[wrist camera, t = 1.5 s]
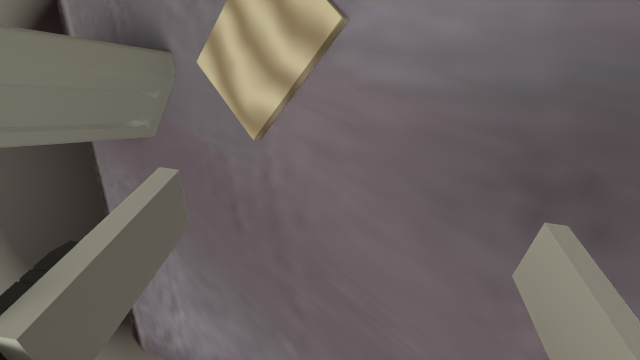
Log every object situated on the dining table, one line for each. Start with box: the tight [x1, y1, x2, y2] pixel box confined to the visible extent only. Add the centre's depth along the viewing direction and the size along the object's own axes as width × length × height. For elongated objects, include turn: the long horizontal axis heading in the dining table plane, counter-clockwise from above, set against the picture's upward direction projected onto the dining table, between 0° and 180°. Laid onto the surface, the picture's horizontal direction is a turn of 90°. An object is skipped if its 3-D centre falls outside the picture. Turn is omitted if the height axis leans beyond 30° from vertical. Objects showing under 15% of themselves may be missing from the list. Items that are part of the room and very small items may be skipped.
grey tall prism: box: [0, 25, 175, 148], centre depth 50 cm, size 19×15×28 cm
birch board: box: [197, 0, 349, 140], centre depth 43 cm, size 20×16×2 cm
